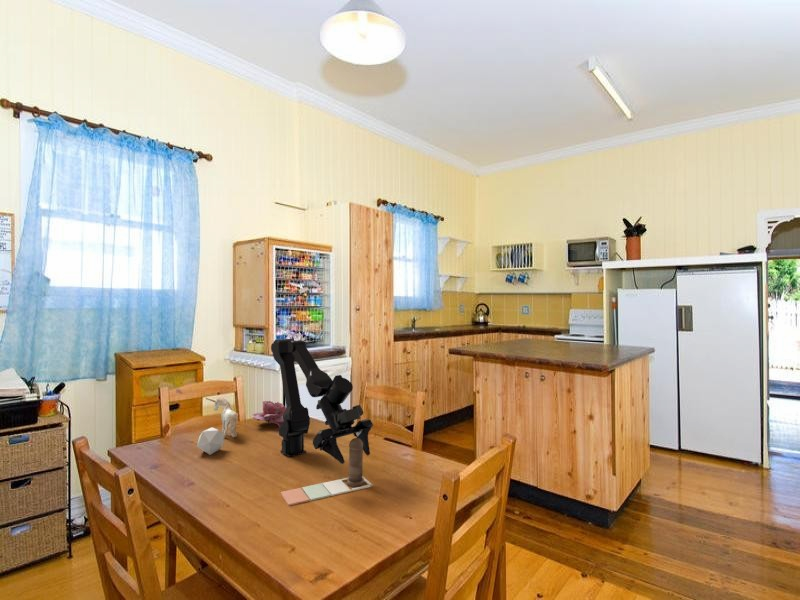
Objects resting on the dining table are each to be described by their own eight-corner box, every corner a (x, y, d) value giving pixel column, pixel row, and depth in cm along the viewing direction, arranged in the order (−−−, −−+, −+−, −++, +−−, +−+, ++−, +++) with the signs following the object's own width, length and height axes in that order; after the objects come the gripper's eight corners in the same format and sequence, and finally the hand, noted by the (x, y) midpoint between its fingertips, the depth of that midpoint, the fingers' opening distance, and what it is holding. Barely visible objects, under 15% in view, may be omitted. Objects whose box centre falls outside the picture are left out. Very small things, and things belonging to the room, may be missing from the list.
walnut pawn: (356, 478, 127) (357, 434, 127) (367, 483, 124) (368, 438, 124) (343, 483, 124) (344, 438, 124) (354, 488, 121) (354, 442, 120)
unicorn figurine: (222, 427, 176) (222, 394, 176) (249, 437, 164) (249, 402, 164) (204, 431, 171) (204, 397, 171) (231, 442, 159) (231, 405, 158)
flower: (252, 424, 170) (259, 399, 172) (249, 420, 183) (256, 397, 186) (289, 431, 175) (295, 407, 177) (283, 426, 188) (289, 404, 191)
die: (228, 454, 148) (230, 426, 154) (211, 448, 142) (213, 420, 147) (209, 460, 150) (211, 433, 156) (190, 455, 143) (193, 427, 149)
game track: (360, 476, 129) (360, 474, 129) (372, 486, 122) (372, 485, 122) (280, 493, 117) (280, 491, 117) (288, 505, 110) (288, 504, 110)
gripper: (318, 402, 121) (342, 451, 113) (369, 392, 134) (394, 436, 126) (303, 424, 127) (324, 473, 119) (353, 413, 140) (376, 456, 132)
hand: (356, 458), depth 124 cm, fingers open, 9 cm apart
